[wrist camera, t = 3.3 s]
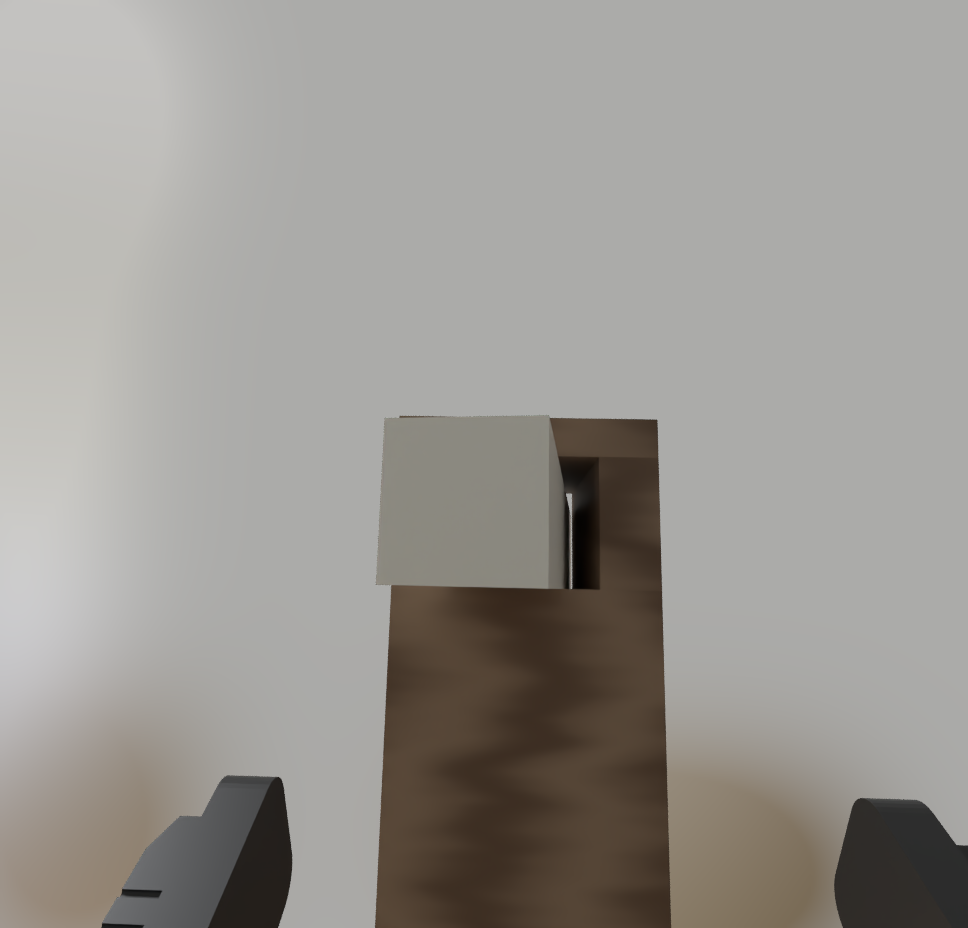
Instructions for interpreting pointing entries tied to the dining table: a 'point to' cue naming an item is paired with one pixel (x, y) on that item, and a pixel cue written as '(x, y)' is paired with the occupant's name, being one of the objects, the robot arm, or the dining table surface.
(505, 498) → the plug bar
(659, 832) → the socket tower
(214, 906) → the robot arm
